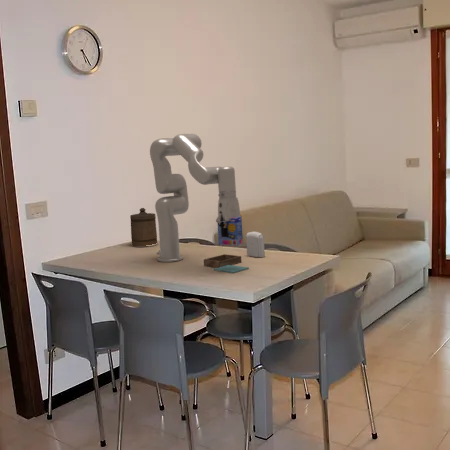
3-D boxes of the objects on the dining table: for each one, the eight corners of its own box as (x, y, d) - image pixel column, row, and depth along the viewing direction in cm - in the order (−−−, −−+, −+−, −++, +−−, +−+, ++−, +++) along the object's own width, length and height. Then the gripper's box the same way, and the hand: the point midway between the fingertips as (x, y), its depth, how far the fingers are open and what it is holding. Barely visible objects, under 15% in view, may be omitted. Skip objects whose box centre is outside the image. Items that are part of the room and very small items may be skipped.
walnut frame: (203, 265, 259) (203, 259, 259) (224, 260, 270) (224, 254, 269) (220, 268, 252) (220, 261, 252) (241, 262, 263) (241, 256, 262)
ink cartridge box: (217, 245, 246) (216, 212, 245) (223, 243, 251) (221, 211, 249) (238, 245, 242) (236, 212, 240) (243, 243, 246) (241, 211, 245)
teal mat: (213, 270, 249) (213, 268, 248) (228, 266, 256) (228, 264, 256) (233, 273, 240) (233, 271, 240) (248, 268, 248) (248, 267, 248)
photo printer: (245, 255, 278) (244, 231, 277) (252, 254, 281) (250, 230, 279) (259, 258, 270) (258, 233, 269) (266, 256, 273) (265, 232, 271)
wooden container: (160, 242, 333) (157, 206, 331) (153, 247, 319) (151, 209, 316) (136, 243, 336) (133, 207, 333) (128, 247, 321) (125, 210, 318)
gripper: (220, 197, 235) (223, 239, 237) (246, 193, 247) (249, 233, 250) (207, 197, 240) (210, 238, 242) (234, 193, 252) (236, 232, 255)
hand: (230, 235), depth 246 cm, fingers closed on ink cartridge box, 6 cm apart
